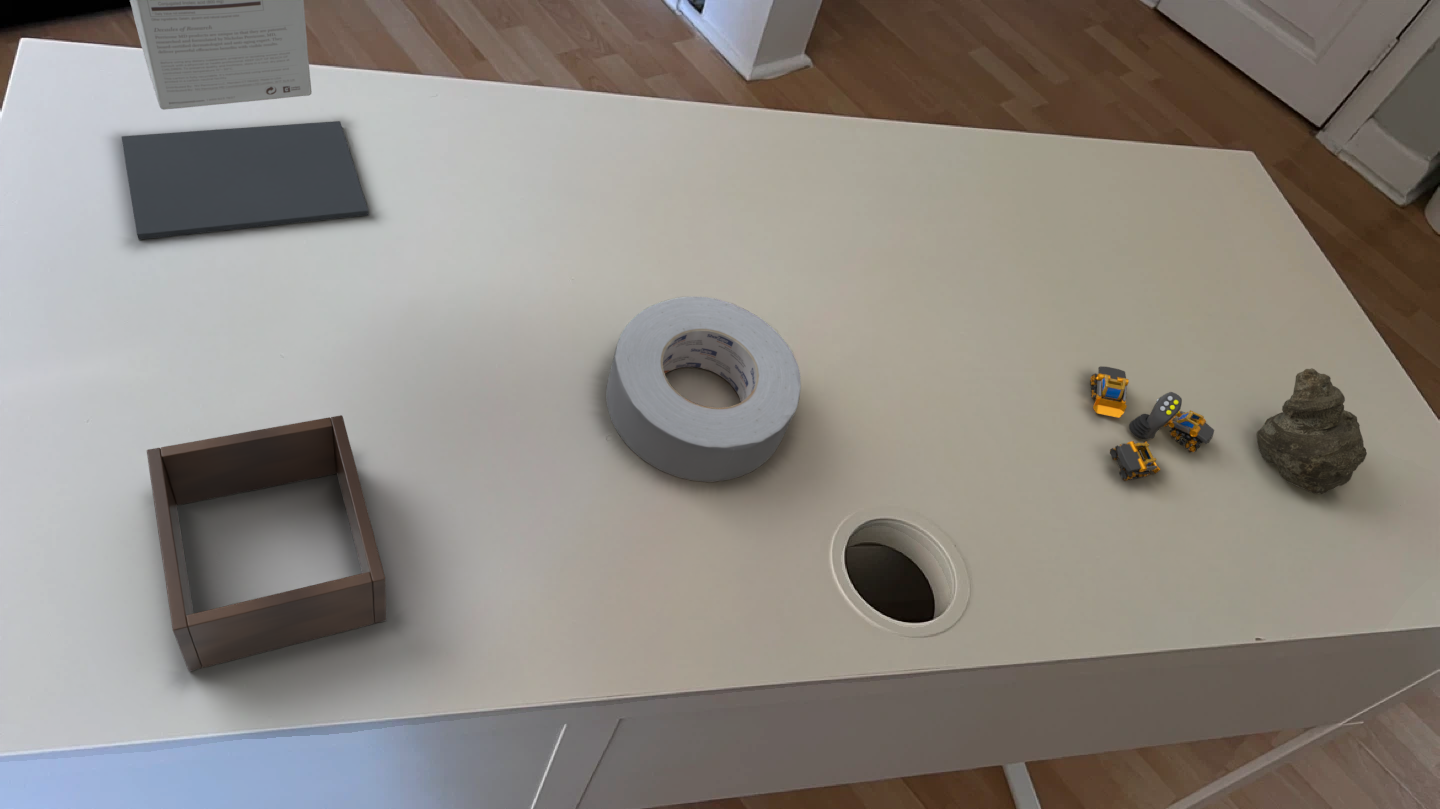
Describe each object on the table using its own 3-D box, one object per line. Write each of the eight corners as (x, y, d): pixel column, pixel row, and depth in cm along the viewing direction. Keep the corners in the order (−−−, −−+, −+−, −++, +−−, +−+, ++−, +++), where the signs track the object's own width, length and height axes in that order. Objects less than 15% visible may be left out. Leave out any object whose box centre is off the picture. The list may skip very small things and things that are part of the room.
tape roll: (796, 487, 86) (814, 452, 82) (607, 477, 82) (618, 439, 78) (773, 341, 95) (789, 303, 91) (603, 327, 91) (612, 286, 87)
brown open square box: (188, 672, 66) (172, 630, 62) (162, 498, 73) (146, 449, 68) (386, 621, 71) (385, 578, 67) (345, 462, 78) (342, 414, 73)
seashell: (1338, 354, 103) (1256, 354, 100) (1448, 396, 92) (1361, 397, 89) (1304, 462, 107) (1224, 465, 103) (1406, 514, 96) (1321, 518, 93)
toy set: (1052, 437, 96) (1078, 405, 92) (1095, 368, 103) (1121, 336, 99) (1170, 515, 93) (1201, 486, 90) (1206, 439, 100) (1236, 409, 97)
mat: (138, 239, 86) (136, 234, 85) (122, 141, 91) (121, 135, 91) (368, 215, 93) (368, 210, 92) (340, 125, 99) (340, 120, 98)
